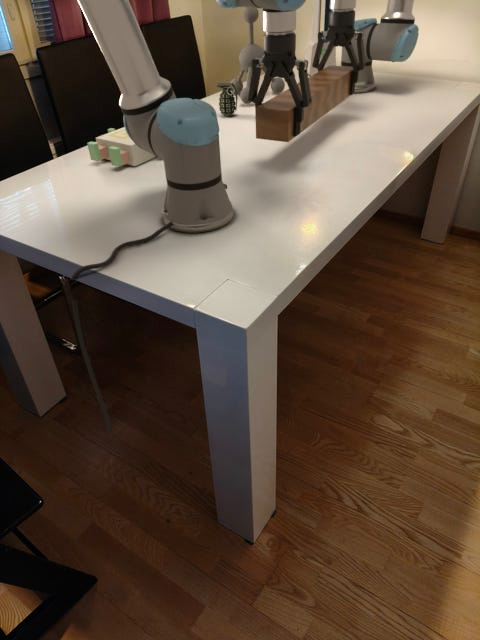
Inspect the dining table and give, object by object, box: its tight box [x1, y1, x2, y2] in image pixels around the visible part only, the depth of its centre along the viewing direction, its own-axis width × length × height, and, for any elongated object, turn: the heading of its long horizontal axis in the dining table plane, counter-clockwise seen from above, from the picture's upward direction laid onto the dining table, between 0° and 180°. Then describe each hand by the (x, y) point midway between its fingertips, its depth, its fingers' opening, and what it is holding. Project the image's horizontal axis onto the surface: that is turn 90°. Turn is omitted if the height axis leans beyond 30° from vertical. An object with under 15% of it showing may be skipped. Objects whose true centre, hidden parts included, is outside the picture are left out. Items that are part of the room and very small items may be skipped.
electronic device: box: [304, 0, 337, 77], centre depth 205 cm, size 12×8×30 cm, turn 105°
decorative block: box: [86, 126, 157, 168], centre depth 141 cm, size 26×6×20 cm
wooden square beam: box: [254, 65, 356, 143], centre depth 138 cm, size 53×9×8 cm, turn 152°
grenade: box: [215, 82, 238, 117], centre depth 166 cm, size 7×6×10 cm
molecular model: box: [229, 7, 286, 105], centre depth 179 cm, size 24×22×30 cm
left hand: (279, 132), depth 125 cm, fingers closed on wooden square beam, 9 cm apart
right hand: (336, 92), depth 155 cm, fingers closed on wooden square beam, 9 cm apart
